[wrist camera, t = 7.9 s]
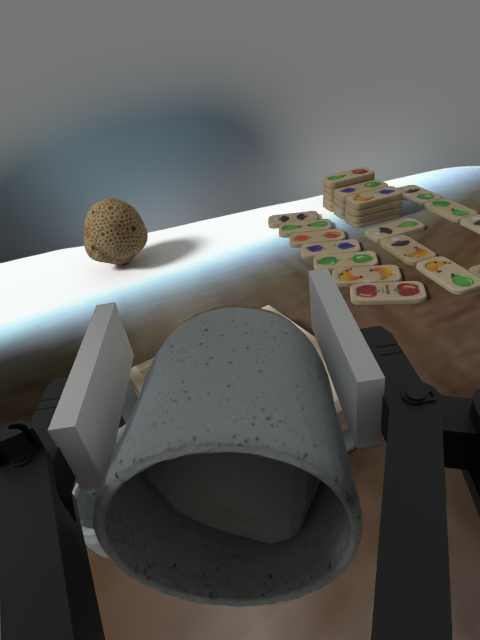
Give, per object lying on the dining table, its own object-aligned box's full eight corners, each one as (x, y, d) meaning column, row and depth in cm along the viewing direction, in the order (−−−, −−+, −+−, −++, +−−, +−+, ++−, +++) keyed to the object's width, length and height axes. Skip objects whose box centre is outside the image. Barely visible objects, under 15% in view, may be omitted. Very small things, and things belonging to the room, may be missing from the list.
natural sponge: (167, 253, 68) (150, 190, 62) (129, 281, 62) (107, 213, 56) (124, 248, 72) (105, 188, 66) (85, 273, 66) (60, 210, 60)
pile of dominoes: (262, 223, 74) (258, 191, 71) (404, 187, 78) (406, 156, 75) (369, 329, 45) (370, 283, 42) (584, 264, 50) (599, 218, 46)
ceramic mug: (327, 413, 21) (316, 269, 16) (366, 603, 14) (365, 443, 10) (112, 435, 22) (50, 305, 17) (50, 622, 15) (-76, 484, 11)
